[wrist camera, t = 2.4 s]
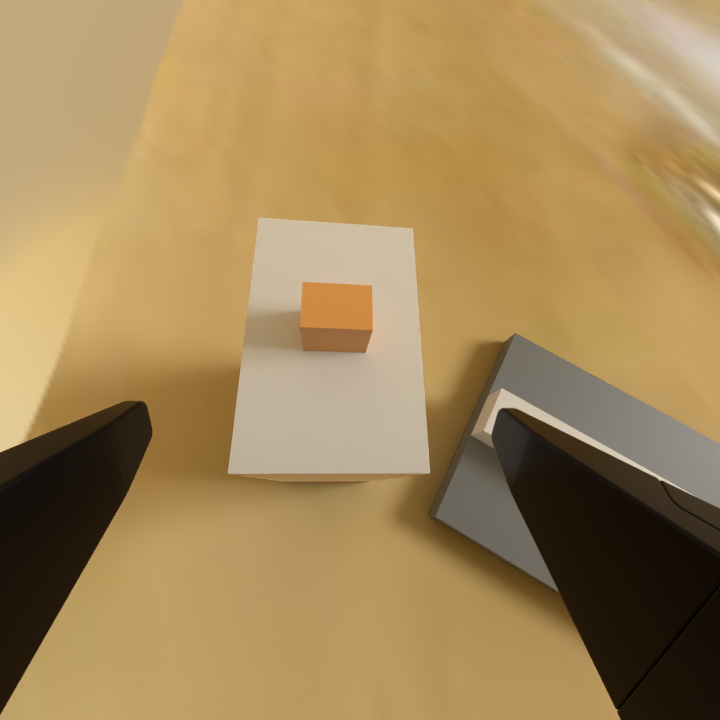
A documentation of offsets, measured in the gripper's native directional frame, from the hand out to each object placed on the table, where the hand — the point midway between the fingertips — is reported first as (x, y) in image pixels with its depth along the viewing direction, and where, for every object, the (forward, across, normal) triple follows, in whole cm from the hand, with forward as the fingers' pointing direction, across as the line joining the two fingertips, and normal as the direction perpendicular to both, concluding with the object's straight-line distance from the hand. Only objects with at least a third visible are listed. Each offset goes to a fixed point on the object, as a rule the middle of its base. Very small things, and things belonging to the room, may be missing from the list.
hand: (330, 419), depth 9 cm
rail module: (+8, 0, +5) cm, 9 cm away
